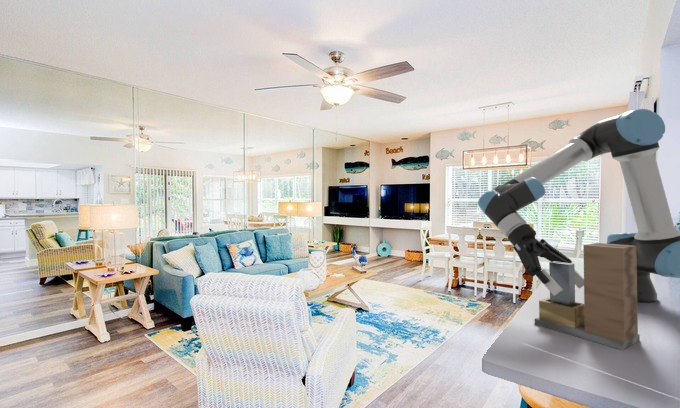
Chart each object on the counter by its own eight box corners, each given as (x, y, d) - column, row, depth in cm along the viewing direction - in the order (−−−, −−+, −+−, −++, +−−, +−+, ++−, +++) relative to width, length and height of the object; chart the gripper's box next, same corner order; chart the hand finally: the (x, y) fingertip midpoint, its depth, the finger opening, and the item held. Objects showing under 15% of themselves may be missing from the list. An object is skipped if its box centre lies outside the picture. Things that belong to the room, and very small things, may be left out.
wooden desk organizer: (553, 317, 99) (552, 238, 99) (639, 340, 81) (638, 245, 81) (534, 323, 93) (533, 241, 94) (622, 350, 76) (620, 248, 76)
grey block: (555, 316, 95) (554, 261, 95) (575, 321, 90) (574, 263, 90) (550, 318, 93) (549, 262, 93) (570, 324, 89) (568, 264, 89)
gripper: (531, 236, 111) (582, 290, 98) (484, 241, 99) (536, 304, 86) (547, 221, 107) (603, 275, 94) (500, 224, 94) (558, 287, 81)
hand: (571, 289), depth 90 cm, fingers open, 13 cm apart
